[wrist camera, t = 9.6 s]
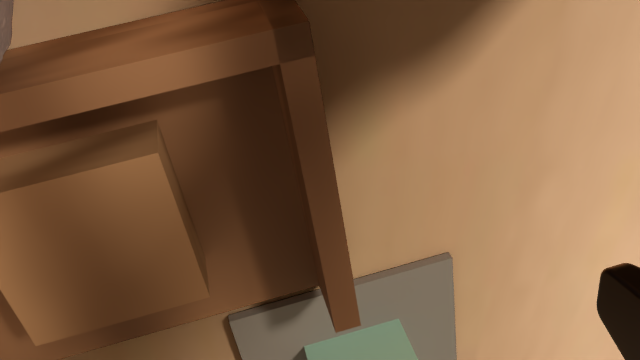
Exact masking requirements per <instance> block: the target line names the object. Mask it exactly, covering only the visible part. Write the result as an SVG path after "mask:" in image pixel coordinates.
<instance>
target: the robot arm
mask: <svg viewBox="0 0 640 360" xmlns="http://www.w3.org/2000/svg"><path fill="white" fill-rule="evenodd" d="M597 310H598V314H599V316H600V318H601V320H602V322H603V324H604V325H605V327H606V329H607V330H608V332H609V334H610V335H611V337H612V339H613V340H614V342H615V344H616V345H617V347H618V349H619V350H620V352H621V354H622V355H623V357H624V359H625V360H640V267H637V266H635V265H633V264H629V263H623V264H619V265H616V266H612V267H609V268H606V269H604V270H603V272H602V273H601V277H600V283H599V290H598V297H597Z"/></svg>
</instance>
